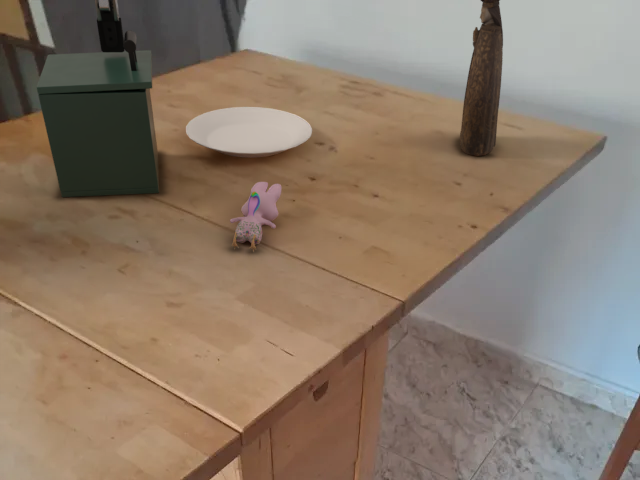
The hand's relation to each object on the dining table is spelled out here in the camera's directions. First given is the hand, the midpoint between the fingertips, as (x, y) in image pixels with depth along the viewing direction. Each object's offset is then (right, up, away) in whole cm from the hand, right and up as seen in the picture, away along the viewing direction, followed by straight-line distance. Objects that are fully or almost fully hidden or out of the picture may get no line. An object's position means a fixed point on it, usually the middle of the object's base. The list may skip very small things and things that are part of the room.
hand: (113, 50), depth 98 cm
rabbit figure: (+21, -26, -4) cm, 34 cm away
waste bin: (-2, -15, +6) cm, 17 cm away
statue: (+56, -6, +20) cm, 60 cm away
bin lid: (-1, -5, -3) cm, 6 cm away
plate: (+18, -6, +18) cm, 26 cm away
